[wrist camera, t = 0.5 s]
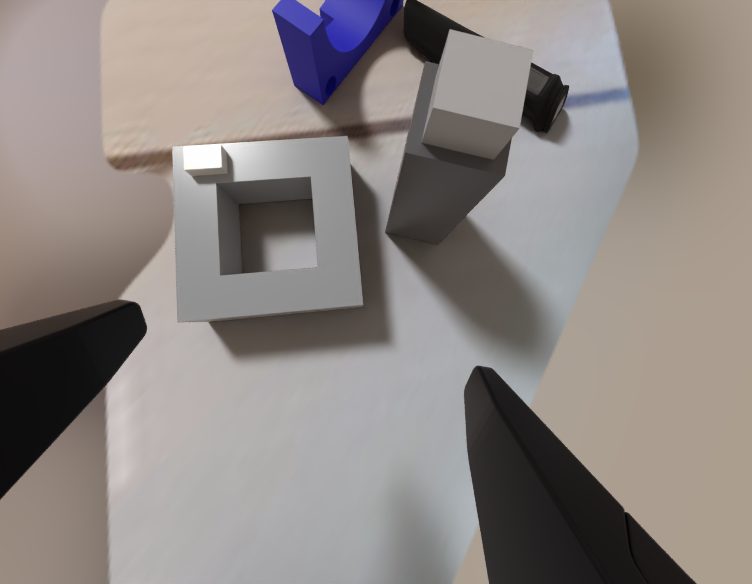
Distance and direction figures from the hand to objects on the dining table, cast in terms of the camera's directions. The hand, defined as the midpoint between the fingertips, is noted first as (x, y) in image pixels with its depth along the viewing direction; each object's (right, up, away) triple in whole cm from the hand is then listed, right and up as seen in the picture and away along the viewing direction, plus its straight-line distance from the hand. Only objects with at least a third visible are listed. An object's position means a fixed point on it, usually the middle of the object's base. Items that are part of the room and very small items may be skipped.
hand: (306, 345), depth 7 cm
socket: (-6, +6, +15) cm, 17 cm away
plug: (+5, +8, +16) cm, 18 cm away
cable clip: (-1, +23, +17) cm, 29 cm away
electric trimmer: (+11, +20, +18) cm, 29 cm away
